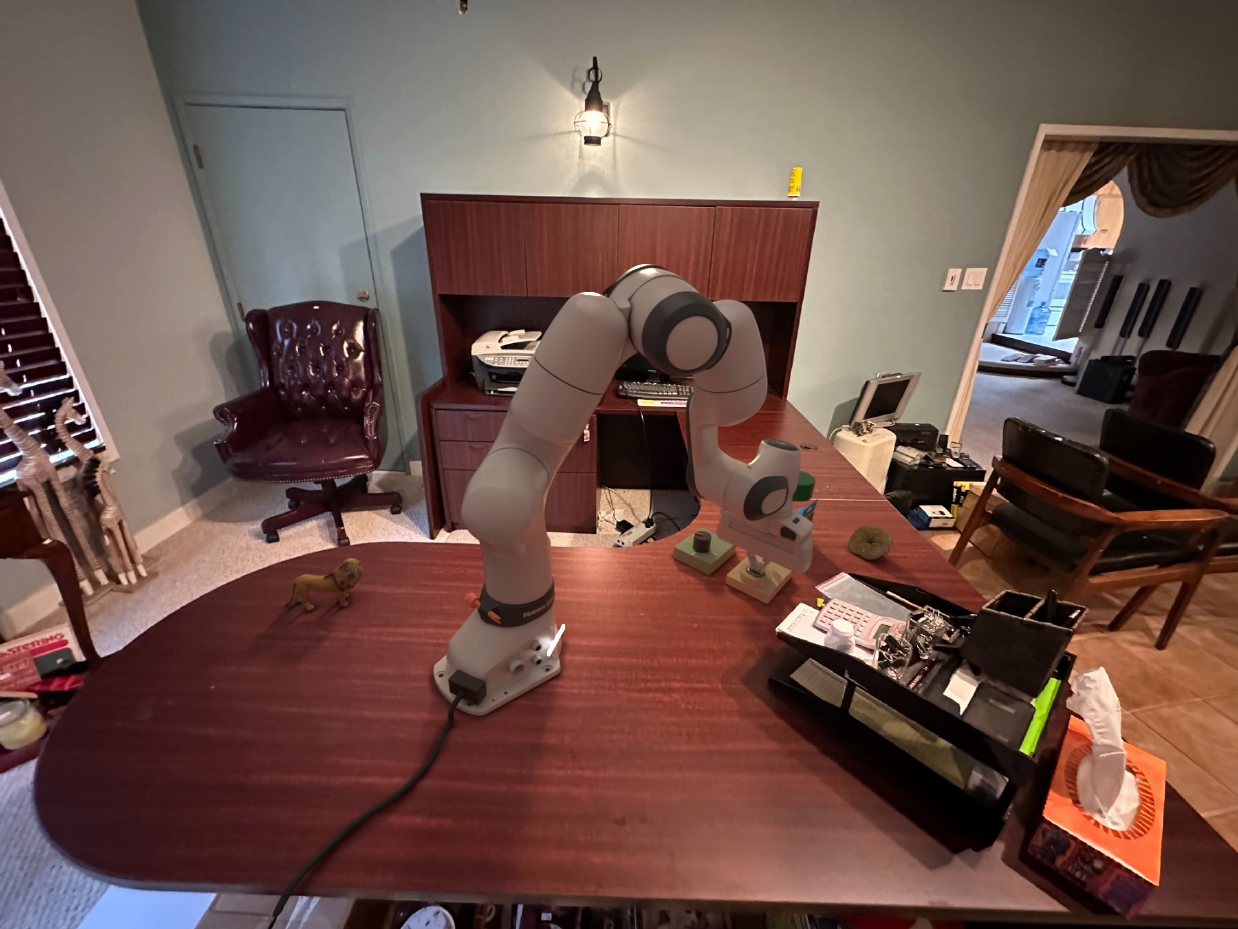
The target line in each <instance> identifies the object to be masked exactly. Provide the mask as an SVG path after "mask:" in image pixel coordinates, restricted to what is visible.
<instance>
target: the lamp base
mask: <svg viewBox="0 0 1238 929" xmlns="http://www.w3.org/2000/svg"><path fill="white" fill-rule="evenodd" d="M755 556H756V559H757V561H759V562H761V563H764V562H763V558H762V557H760V556H757V555H755ZM749 566H750V562H749V559H748V557H747V556H746V557H745V558H744V559H742V560H741V561H740V562H739V563H738V564H737V565H736V566H735V567H734V568H733V569H731V570H730V571H729V572H728V573H727V574H726V576H725V581H724V584H726V585H727V586H729V587H732V588H733V589H736V590H737V591H740V592H742V593H744V594H746V595H748V596H750V597H752V598H754V599H756V600H758V601H760V602H763V603H764V604H766V605H768V604H769V603H770V602H771V601H772V599H773V598H774V597H775V596H776V595H777V594H778V593H779V592H780V590H781V589H782V588H783V587H784V586H785V585H786V584H787V583H788V581H789V580H790V579H791V577H792V573H793V571H792V570H789V569H787V568H785V567H783V566H780V565H778V564H776V563H773V562H770V563H769V564H768V565H767V566H766V569H765V573H764V576H763V577H754V576H752V575H750V574H748V573H747V569H748V567H749Z"/></svg>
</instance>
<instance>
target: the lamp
mask: <svg viewBox="0 0 1238 929" xmlns="http://www.w3.org/2000/svg"><path fill="white" fill-rule="evenodd" d="M815 486H816V478H815V476H813V475H812V474H810V473H808V472H806V471H804V470H800V473H799V479H798V484H797V488H796V491H795V492H794V494H793V503H794V502H801V503H802V502H808V501H810V500H811V499H813V494H814V490H815Z"/></svg>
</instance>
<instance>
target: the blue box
mask: <svg viewBox="0 0 1238 929" xmlns="http://www.w3.org/2000/svg"><path fill="white" fill-rule="evenodd" d="M818 500H819V498H816V499H815V500H814V501H813V502H812V503H810V505H808V506H802V507H801V506H800V507H799V508H798V509H796V511H797V512H798V513H800V514H801V515H802V516H804V517H805V518H807V519H808V520H809V521H811V522H812V523H813V518H814V514H815V511H816V510H815V509H816V506H817V504H818Z"/></svg>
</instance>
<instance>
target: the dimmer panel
mask: <svg viewBox="0 0 1238 929" xmlns="http://www.w3.org/2000/svg"><path fill="white" fill-rule="evenodd" d="M697 531H705V532H708V533H710V534H711V536H712V537H711V544H710V550H709V551H708V552H706V553H700V552H697V551H695V550H694V549H693V539H694V533H695V532H697ZM736 549H737V546H735V545H732V544H730V543H728V542H726V541H723V540H721V539H719V538H718V536H717V534H716V532H713V531H711V530H708V529H706V528H703V527H699V528H698V529H697V530H695V531H694V532H693V533H691V534H690V535H688V536H687V537H685V538H684V539H683V540H681V541H679V543H677V544H675V545H674V546H673V550H672V558H673V559H675V560H678V561H679V562H682V563H683V564H685V565H688V566H690V567H692V568H694V569H696V570H698V571H700V572H702V573H703V574H706V575H708V576H710V575H711V574H713V573H714V572H715V571H716V570H717V569H719V567H721V566H722V565H723V564H724V563H725V562H726V561H728V559H731V557H732V556H733V555H735V554H736Z"/></svg>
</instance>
